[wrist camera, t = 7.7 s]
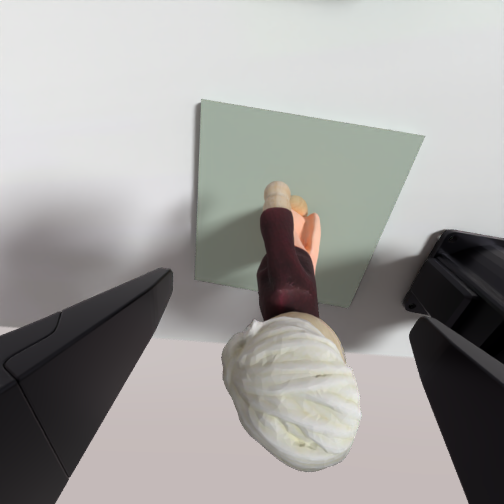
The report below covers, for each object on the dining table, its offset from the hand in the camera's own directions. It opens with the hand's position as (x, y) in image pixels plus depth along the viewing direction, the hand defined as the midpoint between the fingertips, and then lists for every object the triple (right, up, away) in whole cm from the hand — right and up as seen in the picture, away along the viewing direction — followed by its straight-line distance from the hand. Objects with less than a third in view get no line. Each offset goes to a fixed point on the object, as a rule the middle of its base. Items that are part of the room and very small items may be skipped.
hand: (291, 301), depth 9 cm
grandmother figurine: (+1, +4, +7) cm, 8 cm away
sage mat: (+1, +4, +8) cm, 9 cm away
